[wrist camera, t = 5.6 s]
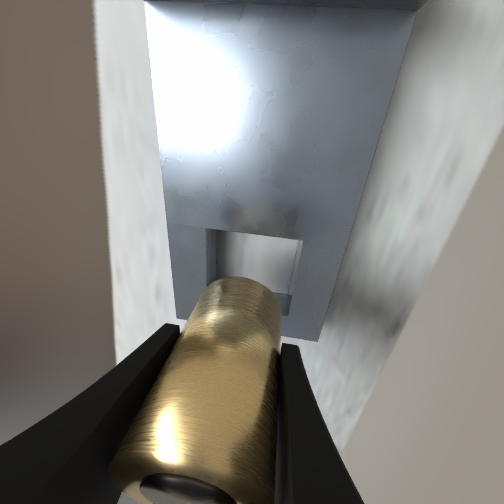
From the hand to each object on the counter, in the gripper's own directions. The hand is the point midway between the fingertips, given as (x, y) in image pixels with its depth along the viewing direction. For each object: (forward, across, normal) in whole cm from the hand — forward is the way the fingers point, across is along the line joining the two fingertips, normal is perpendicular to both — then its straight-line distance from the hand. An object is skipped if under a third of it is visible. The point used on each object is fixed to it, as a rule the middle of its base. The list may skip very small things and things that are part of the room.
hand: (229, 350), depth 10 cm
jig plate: (+8, 0, -5) cm, 10 cm away
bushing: (+2, 0, 0) cm, 2 cm away
